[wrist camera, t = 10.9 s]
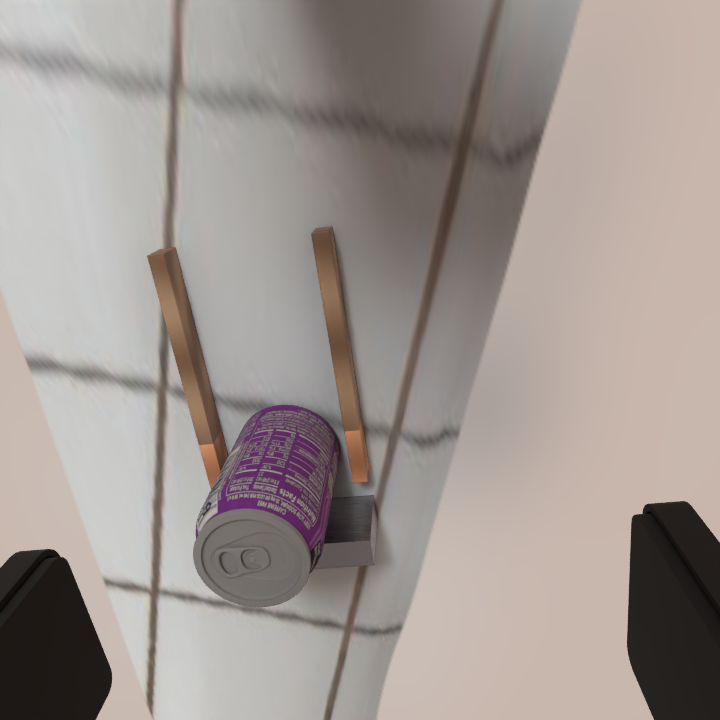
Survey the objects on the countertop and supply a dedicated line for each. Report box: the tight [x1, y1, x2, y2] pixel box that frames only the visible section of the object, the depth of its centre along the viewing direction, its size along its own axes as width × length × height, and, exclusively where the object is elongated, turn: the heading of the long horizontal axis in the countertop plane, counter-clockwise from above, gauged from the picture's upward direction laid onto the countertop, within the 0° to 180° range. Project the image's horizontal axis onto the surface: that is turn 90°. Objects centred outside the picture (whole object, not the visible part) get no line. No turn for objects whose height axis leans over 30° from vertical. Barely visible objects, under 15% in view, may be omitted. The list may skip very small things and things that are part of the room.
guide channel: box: [147, 227, 377, 569], centre depth 38 cm, size 22×11×5 cm, turn 8°
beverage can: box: [193, 405, 340, 607], centre depth 36 cm, size 7×7×12 cm
